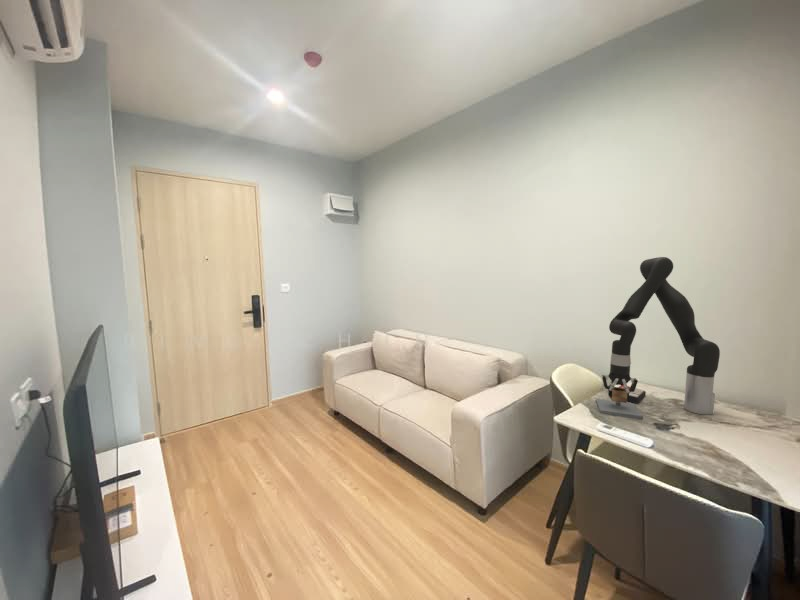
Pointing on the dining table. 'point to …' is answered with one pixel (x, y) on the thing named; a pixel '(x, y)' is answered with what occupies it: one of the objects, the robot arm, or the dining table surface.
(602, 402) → the board
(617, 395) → the brown boxy piece
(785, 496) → the dining table surface
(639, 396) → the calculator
